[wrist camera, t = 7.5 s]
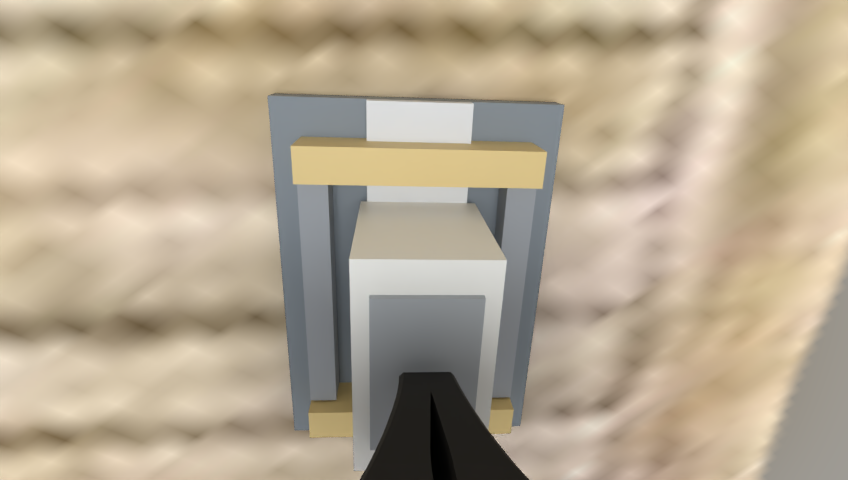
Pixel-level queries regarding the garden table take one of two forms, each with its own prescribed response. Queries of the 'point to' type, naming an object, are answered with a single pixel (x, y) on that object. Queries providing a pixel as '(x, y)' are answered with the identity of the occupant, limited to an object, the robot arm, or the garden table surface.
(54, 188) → the garden table surface
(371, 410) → the block
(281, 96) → the rail base
